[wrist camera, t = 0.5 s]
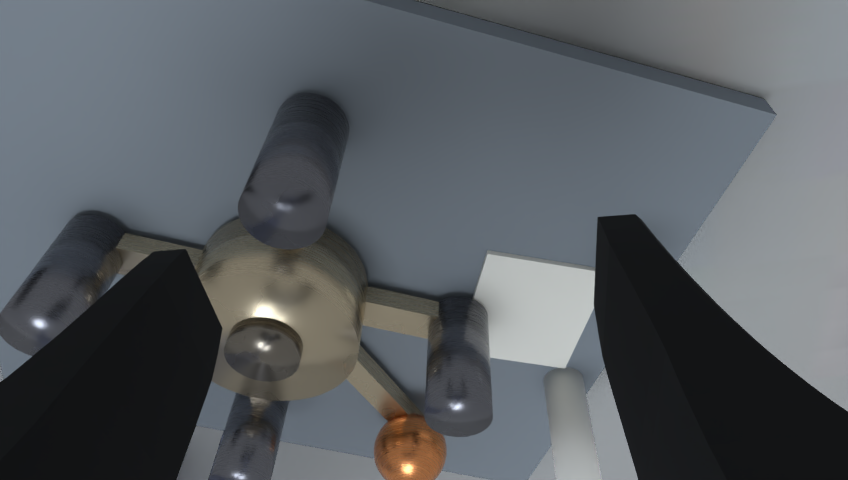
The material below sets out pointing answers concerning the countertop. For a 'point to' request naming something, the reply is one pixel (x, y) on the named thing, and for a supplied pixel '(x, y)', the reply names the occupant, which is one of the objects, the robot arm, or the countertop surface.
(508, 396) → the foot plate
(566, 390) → the white rounded posts
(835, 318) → the countertop surface
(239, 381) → the capstan
